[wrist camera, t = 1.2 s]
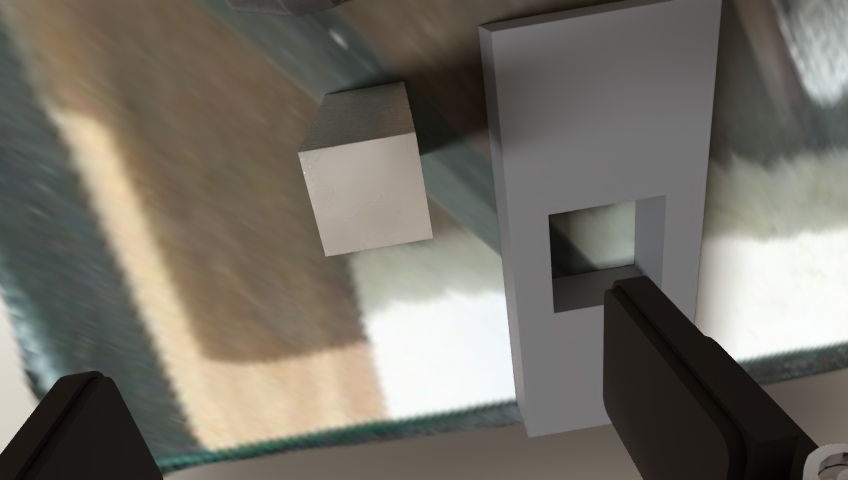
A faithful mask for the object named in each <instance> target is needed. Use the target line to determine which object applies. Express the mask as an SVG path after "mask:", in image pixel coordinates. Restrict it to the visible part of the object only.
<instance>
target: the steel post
mask: <svg viewBox="0 0 848 480" xmlns="http://www.w3.org/2000/svg"><path fill="white" fill-rule="evenodd" d="M298 154H299V158H300V162H301V166H302V169H303V173H304V177H305V181H306V184H307V188H308V192H309V195H310V199H311V203H312V207H313V210H314V214H315V218H316V222H317V225H318V229H319V233H320V236H321V240H322V244H323V248H324V251H325V255H326V256H331V255H337V254H343V253H349V252H355V251H361V250H366V249H372V248H378V247H384V246H390V245H395V244H401V243H407V242H413V241H419V240H425V239H430V238H433V236H432V230H431V224H430V218H429V212H428V206H427V199H426V193H425V187H424V181H423V175H422V169H421V163H420V157H419V151H418V145H417V139H416V132H415V128H414V124H413V119H412V115H411V111H410V106H409V102H408V98H407V93H406V89H405V85H404V81H403V82H397V83H391V84H385V85H379V86H374V87H368V88H362V89H356V90H350V91H345V92H339V93H333V94H327V95H325V96H324V99H323V101H322V103H321V105H320V107H319V109H318V111H317V113H316V116H315V118H314V120H313V122H312V124H311V126H310V128H309V131H308V133H307V135H306V137H305V139H304V141H303V143H302V145H301V148H300V150H299V152H298Z"/></svg>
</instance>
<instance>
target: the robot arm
mask: <svg viewBox="0 0 848 480" xmlns="http://www.w3.org/2000/svg"><path fill="white" fill-rule="evenodd" d="M603 402H604V406H605V410H606V412H607V415H608V417H609V419H610V420H611V422H612V424H613V426H614V428H615V429H616V431H617V433H618V435H619V436H620V438H621V440H622V442H623V444H624V446H625V447H626V449H627V451H628V453H629V454H630V456H631V458H632V460H633V462H634V463H635V465H636V467H637V469H638V470H639V472H640V474H641V476H642V478H643V480H848V444H831V445H827V446H823V447H818V446H817V445H816V444H815V443H814V442H813V440H811V438H810V437H809V436H808V435H806V433H805V432H804V431H803V430H802V429H801V428H800V427H799V426H798V425H797V424H796V423H795V422H794V421H793V420H792V419H791V418H790V417H789V416H788V415H787V414H786V413H785V412H784V411H783V410H782V409H781V408H780V406H779V405H777V403H776V402H775V401H774V400H773V399H772V398H771V397H770V396H769V395H768V394H767V393H766V392H765V391H764V390H763V389H762V388H761V387H760V386H759V385H758V384H757V383H756V382H755V381H754V380H753V379H752V378H751V377H750V376H749V375H748V374H747V373H746V371H745V370H744V369H743V368H742V367H741V366H740V365H739V364H738V363H737V362H736V361H735V360H734V359H733V358H732V357H731V356H730V355H729V354H728V353H727V352H726V351H725V350H724V349H723V348H722V347H721V346H720V345H719V344H718V343H717V342H716V341H715V340H713V339H712V338H711V337H707V336H704V335H703V334H702V333H701V332H700V330H699V329H698V328H697V327H696V326H695V325H694V324H693V323H692V322H691V321H690V320H689V319H688V318H687V317H686V316H685V315H684V314H683V313H682V312H681V311H680V310H679V308H678V307H677V306H676V305H675V304H674V303H673V302H672V301H671V300H670V299H669V298H668V297H667V296H666V295H665V294H664V293H663V292H662V291H661V290H660V289H659V288H658V286H657V285H656V284H655V283H654V282H653V281H652V280H651V279H650V278H649V277H647V276H644V275H643V276H637V277H631V278H625V279H620V280H616V281H614V283H613V285H612V289H607V290H606V291H605V293H604V334H603ZM0 480H163V477H162V474H161V472H160V470H159V468H158V466H157V464H156V462H155V460H154V458H153V457H152V455H151V453H150V451H149V449H148V447H147V445H146V443H145V441H144V439H143V437H142V435H141V433H140V431H139V429H138V427H137V425H136V423H135V421H134V419H133V418H132V416H131V414H130V412H129V410H128V408H127V406H126V404H125V402H124V400H123V398H122V396H121V394H120V392H119V390H118V388H117V386H116V384H115V382H114V381H113V380H112V379H111V378H110V377H104V376H103V374H102V373H100V372H99V371H90V372H84V373H79V374H73V375H67V376H63V377H61V378H60V379H59V380H58V381H56V383H55V384H54V385H53V387H52V388H51V389H50V391H49V392H48V393H47V394H46V396H45V397H44V398H43V400H42V401H41V402H40V404H39V405H38V406H37V407H36V409H35V410H34V411H33V413H32V414H31V415H30V417H29V418H28V419H27V421H26V422H25V423H24V424H23V426H22V427H21V428H20V430H19V431H18V432H17V434H16V435H15V436H14V438H13V439H12V440H11V441H10V443H9V444H8V445H7V447H6V448H5V449H4V450H3V452H2V453H1V454H0Z"/></svg>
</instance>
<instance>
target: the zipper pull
mask: <svg viewBox="0 0 848 480" xmlns="http://www.w3.org/2000/svg"><path fill="white" fill-rule="evenodd" d="M224 1H225V2H226V3H227V4H228V5H229V7H230V8H232V9H233V10H235V11H242V12H253V13H263V14H272V15H282V16H292V17H298V16H301V15H305V14H309V13H313V12H317V11H321V10H325V9H329V8H333V7H336V6H338V5H340V4H341V3H343V2H344V1H345V0H224Z"/></svg>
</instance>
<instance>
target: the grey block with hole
mask: <svg viewBox="0 0 848 480" xmlns="http://www.w3.org/2000/svg"><path fill="white" fill-rule="evenodd" d="M721 5H722V0H623V1H618V2H612V3H606V4H600V5H594V6H589V7H583V8H577V9H571V10H565V11H560V12H554V13H548V14H542V15H536V16H531V17H525V18H519V19H513V20H507V21H502V22H496V23H490V24H484V25H478V30H479V40H480V50H481V60H482V69H483V79H484V89H485V99H486V108H487V118H488V128H489V138H490V148H491V157H492V167H493V177H494V187H495V197H496V206H497V216H498V226H499V236H500V246H501V255H502V265H503V275H504V285H505V295H506V304H507V314H508V324H509V334H510V344H511V353H512V363H513V373H514V383H515V393H516V400H517V403H518V406H519V409H520V412H521V415H522V418H523V421H524V424H525V427H526V430H527V434H528V437H535V436H541V435H547V434H553V433H558V432H565V431H570V430H576V429H582V428H588V427H593V426H599V425H605V424H611V423H612V422H611V420H610V419H609V417H608V415H607V412H606V410H605V406H604V402H603V334H604V293H605V291H606V290H607V289H612V285H613V283H614V281H616V280H620V279H625V278H631V277H637V276H643V275H644V276H647V277H649V278H650V279H651V280H652V281H653V282H654V283H655V284H656V285H657V286H658V288H659V289H660V290H661V291H662V292H663V293H664V294H665V295H666V296H667V297H668V298H669V299H670V300H671V301H672V302H673V303H674V304H675V305H676V306H677V307H678V308H679V310H680V311H681V312H682V313H683V314H684V315H685V316H686V317H687V318H688V319H689V320H690V321H691V322H692V323H693V324H694V321H695V309H696V298H697V286H698V274H699V263H700V251H701V239H702V228H703V216H704V204H705V192H706V181H707V169H708V157H709V146H710V134H711V122H712V111H713V99H714V87H715V76H716V64H717V52H718V41H719V29H720V17H721ZM632 200H636V217H635V259H634V265H629V266H624V267H618V268H612V269H606V270H600V271H594V272H589V273H583V274H577V275H571V276H565V277H560V278H554V279H552V272H551V255H550V237H549V219H548V215H550V214H556V213H562V212H568V211H574V210H579V209H585V208H591V207H597V206H603V205H608V204H614V203H620V202H626V201H632Z"/></svg>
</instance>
